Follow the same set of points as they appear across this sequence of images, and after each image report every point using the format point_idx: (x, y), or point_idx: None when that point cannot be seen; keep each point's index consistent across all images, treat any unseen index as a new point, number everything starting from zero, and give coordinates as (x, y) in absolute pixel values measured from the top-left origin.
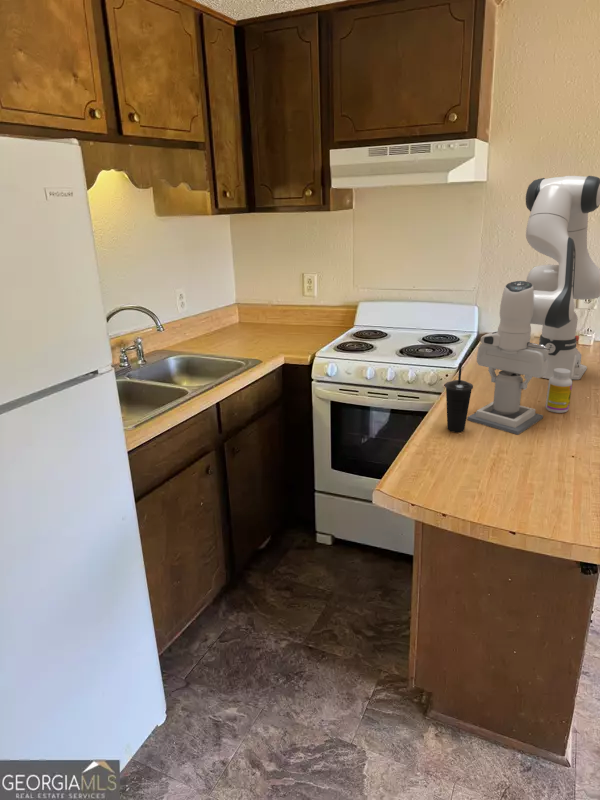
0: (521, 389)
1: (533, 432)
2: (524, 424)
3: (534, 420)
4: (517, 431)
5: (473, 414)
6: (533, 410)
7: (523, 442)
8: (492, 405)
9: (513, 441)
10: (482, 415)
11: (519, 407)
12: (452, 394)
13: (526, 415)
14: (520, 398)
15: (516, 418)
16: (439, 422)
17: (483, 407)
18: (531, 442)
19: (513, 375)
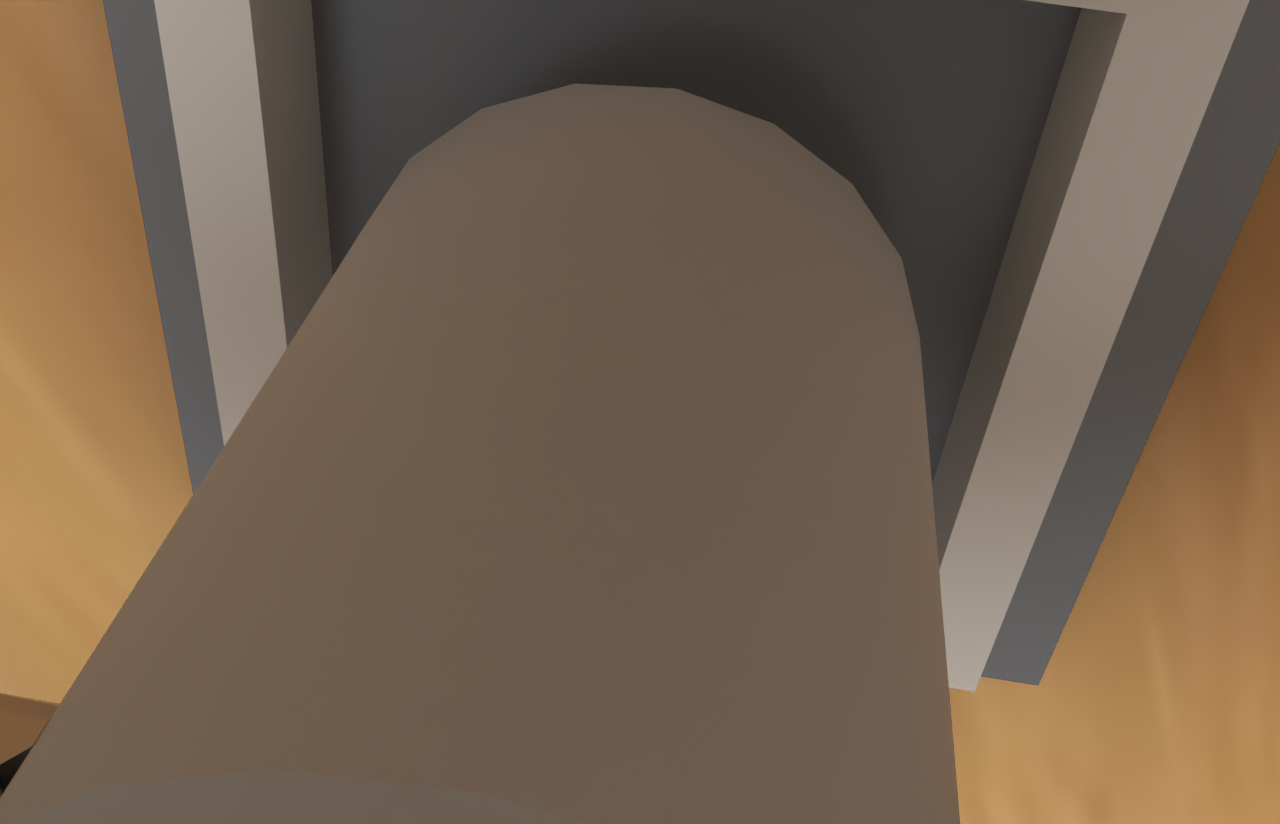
0: (954, 773)
1: (1252, 490)
2: (1082, 435)
3: (1253, 178)
4: (1025, 679)
5: (198, 434)
6: (1234, 36)
7: (1144, 784)
8: (276, 183)
9: (1018, 799)
10: None
11: (922, 376)
12: None
13: (1099, 357)
14: (934, 536)
15: (952, 595)
16: (44, 693)
17: (234, 407)
18: (1248, 755)
19: (358, 739)
